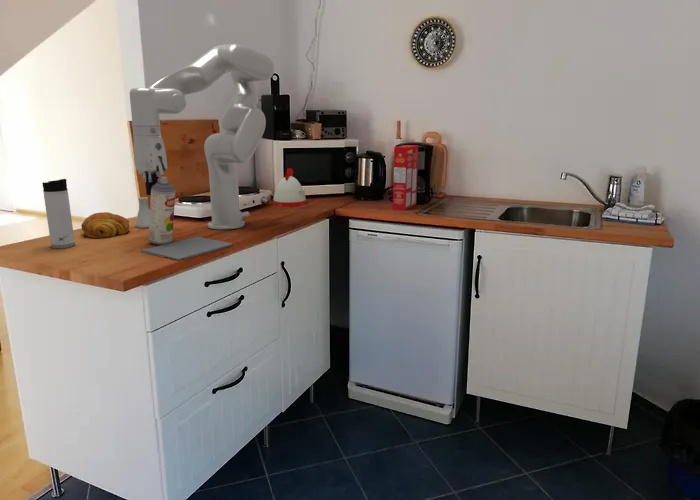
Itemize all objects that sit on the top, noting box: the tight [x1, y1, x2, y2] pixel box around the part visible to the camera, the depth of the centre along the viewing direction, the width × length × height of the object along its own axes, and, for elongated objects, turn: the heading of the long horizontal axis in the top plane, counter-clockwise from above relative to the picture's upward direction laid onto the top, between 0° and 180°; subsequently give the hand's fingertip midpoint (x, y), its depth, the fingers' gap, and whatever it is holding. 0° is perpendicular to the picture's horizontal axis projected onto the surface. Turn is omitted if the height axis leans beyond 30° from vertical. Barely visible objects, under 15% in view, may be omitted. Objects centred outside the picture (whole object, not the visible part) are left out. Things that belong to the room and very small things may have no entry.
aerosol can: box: [148, 176, 176, 246], centre depth 159 cm, size 7×7×20 cm
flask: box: [134, 196, 150, 229], centre depth 185 cm, size 7×7×10 cm
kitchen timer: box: [272, 168, 307, 207], centre depth 229 cm, size 14×14×15 cm
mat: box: [141, 236, 234, 261], centre depth 156 cm, size 20×16×1 cm
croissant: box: [81, 211, 130, 239], centre depth 175 cm, size 14×16×8 cm
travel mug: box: [41, 178, 76, 250], centre depth 156 cm, size 6×7×20 cm
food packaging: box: [392, 144, 419, 211], centre depth 221 cm, size 15×5×25 cm, turn 155°
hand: (152, 194), depth 160 cm, fingers closed
